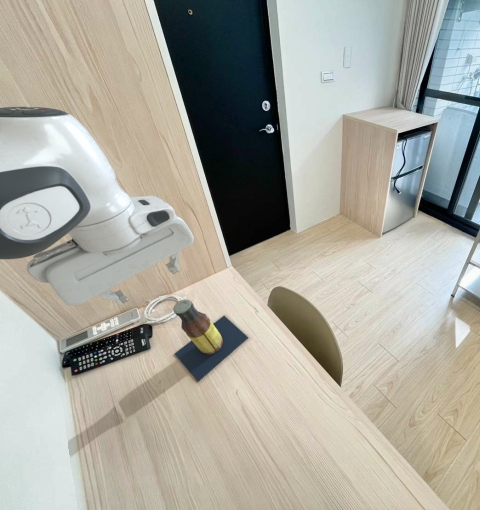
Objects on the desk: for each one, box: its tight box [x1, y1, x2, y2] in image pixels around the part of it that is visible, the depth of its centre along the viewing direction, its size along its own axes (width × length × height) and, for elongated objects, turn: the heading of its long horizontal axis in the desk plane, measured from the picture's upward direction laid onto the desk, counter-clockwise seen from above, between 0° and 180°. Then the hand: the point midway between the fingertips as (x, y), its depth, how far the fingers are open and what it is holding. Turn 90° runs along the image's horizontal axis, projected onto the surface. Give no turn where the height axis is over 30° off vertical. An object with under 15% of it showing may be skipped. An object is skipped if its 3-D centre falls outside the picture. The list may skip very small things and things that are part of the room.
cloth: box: [174, 315, 249, 383], centre depth 77 cm, size 16×12×1 cm
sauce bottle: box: [172, 298, 223, 354], centre depth 70 cm, size 6×6×20 cm
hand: (150, 285), depth 50 cm, fingers open, 8 cm apart
